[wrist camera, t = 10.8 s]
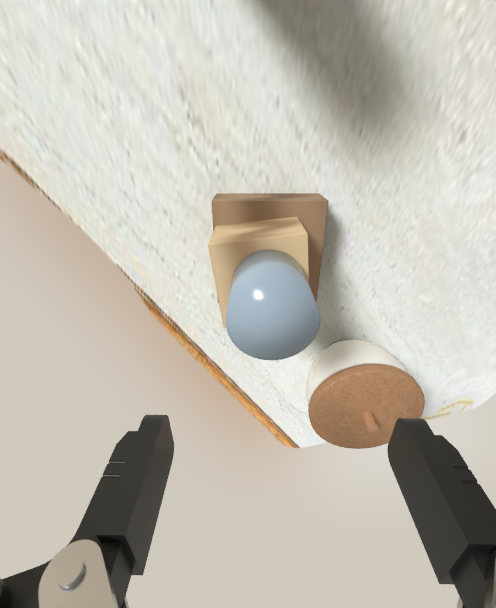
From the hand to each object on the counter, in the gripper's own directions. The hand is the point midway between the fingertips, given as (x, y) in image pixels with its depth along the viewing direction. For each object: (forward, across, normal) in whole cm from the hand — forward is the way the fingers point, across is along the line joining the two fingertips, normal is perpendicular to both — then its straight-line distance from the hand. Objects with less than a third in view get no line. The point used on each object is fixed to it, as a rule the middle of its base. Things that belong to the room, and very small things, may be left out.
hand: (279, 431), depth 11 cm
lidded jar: (+21, -10, +14) cm, 27 cm away
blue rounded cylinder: (+12, 0, 0) cm, 12 cm away
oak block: (+17, 0, 0) cm, 17 cm away
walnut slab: (+21, 0, 0) cm, 21 cm away
